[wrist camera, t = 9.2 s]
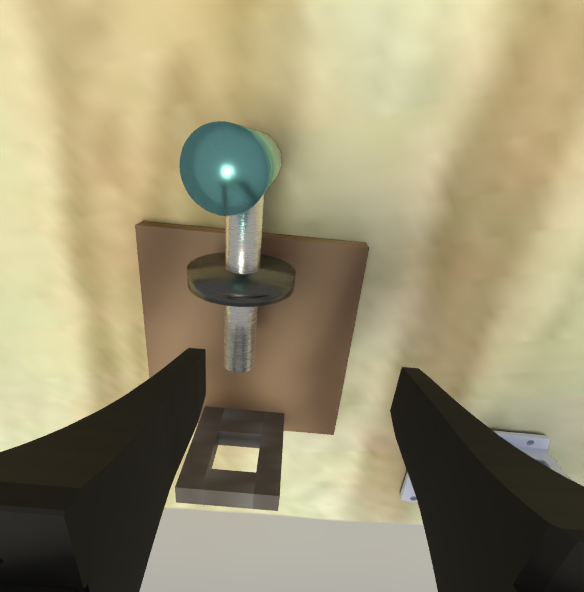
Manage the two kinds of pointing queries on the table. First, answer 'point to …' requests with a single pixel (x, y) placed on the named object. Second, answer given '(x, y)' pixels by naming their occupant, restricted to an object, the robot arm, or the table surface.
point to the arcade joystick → (235, 230)
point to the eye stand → (268, 353)
